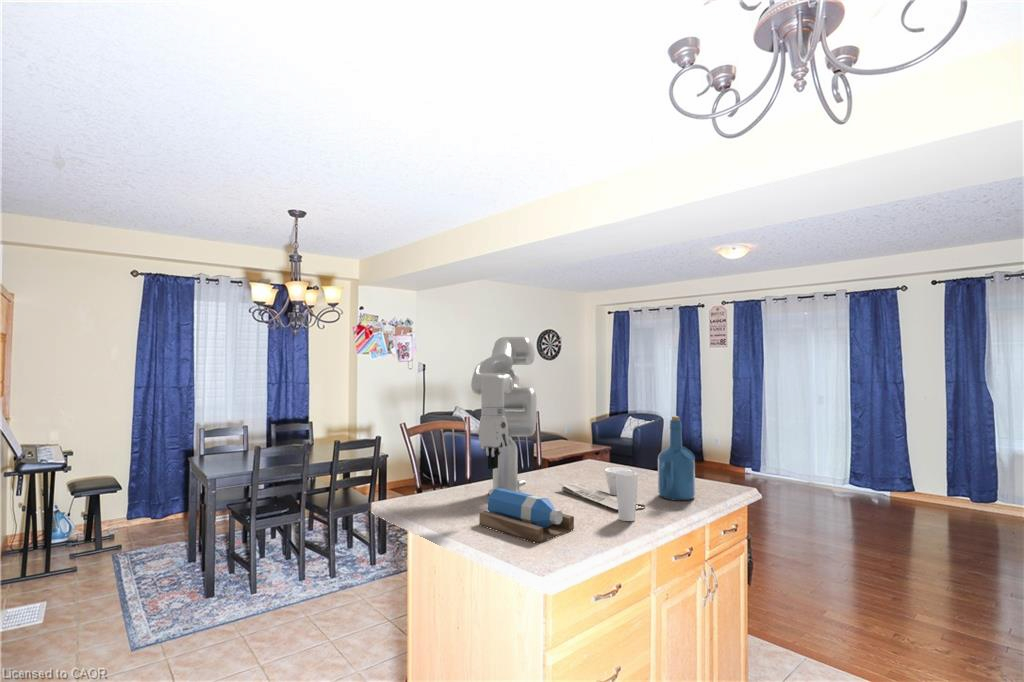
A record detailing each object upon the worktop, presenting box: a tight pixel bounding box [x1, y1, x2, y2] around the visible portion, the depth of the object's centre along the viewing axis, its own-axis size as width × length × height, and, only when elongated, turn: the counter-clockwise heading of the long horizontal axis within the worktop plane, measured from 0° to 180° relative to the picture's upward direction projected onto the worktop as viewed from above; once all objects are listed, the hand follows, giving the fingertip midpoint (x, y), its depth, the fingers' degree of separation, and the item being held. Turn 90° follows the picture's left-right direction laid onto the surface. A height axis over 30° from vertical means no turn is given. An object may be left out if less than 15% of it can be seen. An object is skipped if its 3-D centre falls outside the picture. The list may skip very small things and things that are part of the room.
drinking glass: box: [616, 470, 638, 522], centre depth 168 cm, size 7×7×15 cm
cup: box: [604, 467, 632, 496], centre depth 200 cm, size 10×10×9 cm
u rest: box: [478, 510, 575, 544], centre depth 161 cm, size 17×24×4 cm
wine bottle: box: [657, 415, 696, 501], centre depth 196 cm, size 14×13×30 cm
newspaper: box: [559, 482, 646, 511], centre depth 193 cm, size 35×12×4 cm, turn 32°
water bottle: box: [487, 488, 564, 529], centre depth 162 cm, size 9×9×25 cm
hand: (492, 468), depth 171 cm, fingers closed
